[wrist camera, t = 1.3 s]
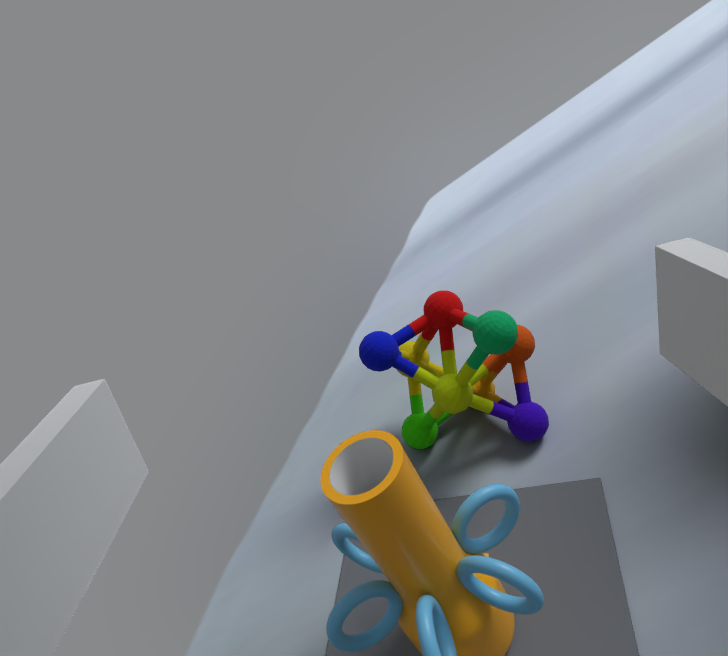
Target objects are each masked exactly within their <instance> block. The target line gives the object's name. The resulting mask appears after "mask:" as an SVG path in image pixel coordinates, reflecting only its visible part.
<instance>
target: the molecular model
mask: <svg viewBox="0 0 728 656" xmlns="http://www.w3.org/2000/svg"><path fill="white" fill-rule="evenodd" d="M457 324H458V325H460V326H462V327H464V328H467V329H469V330H471V331H473V338H474V341H475V343H476V345H477V347H476V348H475V350H474V351H473V352H472V354H471V355H470V357H469V358H468V360H467V361H466V363H465V364H464V365H463V367H462V368H461V370H460V371H459V373H458V374H457V368H456V360H455V351H454V342H453V333H452V328H453V327H454V326H456V325H457ZM438 329H439V335H440V345H441V354H442V364H443V368H442V367H440V366H438V365H436V364H434V363H432V362H429V358H430V357H429V354H428V351H427V350H426V348H427V346H428V344H429V343H430V341H431V340H432V339H433V337H434V335H435V334H436V332H437V331H438ZM419 333H421V334H420V336H419V337H418V339H417V341H416V342H406V341H408V340H410V339H411V338H413V337H414V336H416V335H417V334H419ZM405 342H406V343H405ZM403 343H404V344H403ZM400 345H401V346H400ZM534 348H535V341H534V337H533V335H532V333H531V332H530V331H529V330H528V329H526V328H525V327H523V326H520V325H517V324H516V322H515V320H514V319H513V318H512V317H511V316H510V315H508V314H507V313H505V312H502V311H488V312H486V313H485V314H483V315H481V316H480V317H476V316H473V315H471V314H468V313H466V312H464V311H463V305H462V302H461V300H460V298H459V297H458V296H457V295H455V294H454V293H452V292H450V291H438V292H435V293H433V294H432V295H430V296H429V298H428V299H427V300H426V303H425V305H424V315H423V316H421V317H420V318H418V319H417V320H415V321H413V322H412V323H410V324H409V325H407V326H406V327H404V328H402V329H401V330H399V331H398V332H396V333H395V334H393V335H390V334H388V333H386V332H383V331H375V332H372V333H370V334H368V335H367V336H365V337H364V339H363V340H362V342H361V344H360V346H359V356H360V359H361V361H362V363H363V364H364V365H365V366H366V367H367V368H369V369H371V370H373V371H384V370H387V369H389V368H391V367H394V368H396V369H397V371H398V372H399V373H401V374H402V375H404V376H406V377H408V385H409V393H410V402H411V410H412V415H410V416H409V417H407V418H406V419H405V421H404V423H403V426H402V436H403V438H404V440H405V442H406V443H407V444H408V445H409V446H411V447H413V448H415V449H425V448H427V447H429V446H432V445H433V443H434V442H435V440H436V439H437V436H438V425H439V424H441V423H442V422H443V421H445V420H446V419H448V418H449V417H450V416H452V415H453V414H457V413H459V412H462V411H464V410H466V409H467V407H468V406H469V407H471V408H474V409H477V410H479V411H482V412H485V413H487V414H490V415H493V416H496V417H498V418H501V419H504V420H506V421H507V423H508V427H509V430H510V431H511V433H512V434H513V435H514V436H515V437H516V438H518V439H520V440H522V441H529V442H532V441H535V440H538V439H540V438H542V437H543V435H544V434H545V433H546V431H547V429H548V426H549V422H548V416H547V414H546V412H545V410H544V409H543V408H542V407H541V406H540V405H538V404H536V403H533V402H531V397H530V392H529V386H528V380H527V374H526V369H525V363H524V361H526V360H527V359H528V358H530V357H531V355H532V353H533V351H534ZM489 354H491V355H490V356H488V355H489ZM487 356H488V357H487ZM507 363H511V366H512V372H513V378H514V383H515V389H516V395H517V401H518V404H517V405H515V406H514V405H512V404H510V403H509V402H507V401H505V400H504V399H502V398H500V397H499V396H497V395H495V386H494V384H493V382H492V381H493V380H494V378H495V377H496V376H497V375H498V374H499V372H501V370H502V369H503V368H504V367H505V365H506V364H507ZM420 383H422V384H424V385H425V386H427V387H429V388H431V389H432V396H433V401H434V402H435V404H434V405H433V406H432V408H431V409H430V410H429V411H428V412H427V414H426V413H424V409H423V401H422V393H421V384H420Z"/></svg>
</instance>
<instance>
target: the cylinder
mask: <svg viewBox="0 0 728 656" xmlns="http://www.w3.org/2000/svg"><path fill="white" fill-rule="evenodd" d="M321 487H322V490H323V492H324V493H325V495H326V496H327V498H328V499H329V500H330V502H331V503H332V504H333V506H334V507H335V508H336V510H337V511H338V512H339V514H340V515H341V516H342V518H343V519H344V520H345V522H346V523H341V524H338V525H336V526H335V527H334V528H333V530H332V540H333V542H334V544H335V545H336V547H337V548H338V549H339V550H340V551H341V552H342V553H343V554H344V555H345V556H347V557H348V558H349V559H351V560H352V561H354V562H355V563H357V564H359V565H360V566H362V567H364V568H367V569H369V570H371V571H374V572H378V573H382V574H384V575H385V576H386V577H387V579H388V580H389V582H388V581H384V580H374V581H369V582H366V583H363V584H360V585H358V586H356V587H355V588H353V589H352V590H350V591H349V592H347V593H346V594H345V595H344V596H343V597H342V598H341V599H340V600H339V601H338V602H337V603H336V605H335V606H334V608H333V609H332V611H331V613H330V615H329V618H328V622H327V636H328V639H329V641H330V642H331V644H332V645H333V646H334V647H335V648H337V649H339V650H341V651H344V652H357V651H362V650H365V649H367V648H370V647H372V646H374V645H375V644H377V643H378V642H380V641H381V640H383V639H384V638H385V637H386V636H387V635H388V634H389V633H390V632H391V631H392V630H393V628H394V627H395V626H396V624H397V623H398V624H399V625H400V627H401V629H402V630H403V632H404V633H405V634H406V635H407V637H408V638H409V639H410V641H411V642H412V643H413V644H414V646H415V647H416V648H417V649H418V651H419V652H420V653H421V655H422V656H505V654H506V653H507V651H508V650H509V647H510V645H511V642H512V639H513V635H514V628H515V617H514V613H515V614H522V615H529V614H534V613H536V612H538V611H539V610H540V609H541V608H542V607H543V604H544V597H543V593H542V591H541V589H540V588H539V586H538V585H537V584H536V583H535V582H534V581H533V580H532V579H531V578H530V577H529V576H527V575H526V574H525V573H523V572H522V571H520V570H519V569H517V568H515V567H513V566H511V565H509V564H507V563H505V562H502V561H500V560H497V559H494V558H490V557H485V556H484V555H483V552H486V551H488V550H490V549H492V548H494V547H495V546H497V545H498V544H500V543H501V542H502V541H503V540H504V539H505V538H506V537H507V536H508V535H509V533H510V532H511V531H512V529H513V528H514V526H515V524H516V522H517V519H518V516H519V512H520V502H519V498H518V496H517V494H516V492H515V491H514V490H513V489H512V488H510V487H509V486H506V485H503V484H491V485H487V486H485V487H482V488H480V489H479V490H477V491H475V492H474V493H473V494H471V495H470V496H469V497H468V498H467V499H466V500H465V501H464V502H463V503H462V505H461V506H460V508H459V509H458V511H457V513H456V515H455V517H454V520H453V524H452V531H451V530H450V528H449V526H448V525H447V523H446V521H445V520H444V518H443V516H442V514H441V513H440V511H439V509H438V508H437V506H436V504H435V502H434V501H433V499H432V497H431V496H430V494H429V492H428V490H427V489H426V487H425V485H424V483H423V482H422V480H421V478H420V476H419V475H418V473H417V471H416V470H415V468H414V466H413V464H412V463H411V461H410V459H409V457H408V456H407V454H406V452H405V450H404V449H403V447H402V445H401V444H400V442H399V440H398V439H397V438H396V437H395V436H394V435H392V434H390V433H388V432H385V431H379V430H372V431H366V432H362V433H359V434H356V435H354V436H352V437H350V438H348V439H347V440H345V441H344V442H342V443H341V444H340V445H339V446H338V447H337V448H336V449H335V450H334V451H333V452H332V453H331V454H330V456H329V457H328V459H327V460H326V462H325V464H324V466H323V469H322V473H321ZM495 499H502V500H504V502H505V511H504V514H503V517H502V518H501V520H500V522H499V523H498V524H497V526H496V527H495V528H494V529H493V530H491V531H490V532H489V533H487V534H486V535H484V536H482V537H479V538H474V539H472V538H469V537H468V536H467V526H468V523H469V521H470V519H471V518H472V516H473V515H474V513H475V512H476V511H477V510H478V509H479V508H480V507H481V506H483V505H484V504H486V503H487V502H489V501H492V500H495ZM347 538H351V539H354V540H357V541H359V542H361V543H362V545H363V546H364V547H365V549H366V550H367V552H368V553H369V554H370V555H369V554H367V553H365V552H364V551H362V550H360V549H359V548H357V547H356V546H355V545H353V544H352V543H351V542H350V541H349V540H348V539H347ZM499 579H500V580H502V581H504V582H506V583H508V584H510V585H512V586H513V587H515V588H516V589H518V590H519V591H520V592H521V593H522V594H523V595H524V596H525V597H516V596H512V595H508V594H507V593H506V591H505V590H504V588H503V586H502V584H501V582H500V580H499ZM374 597H384V598H386V599H387V600H388V602H389V605H388V609H387V611H386V613H385V615H384V616H383V617H382V619H381V620H380V621H379V622H378V623H377V624H376V625H375V626H373V627H372V628H370V629H369V630H367V631H365V632H363V633H360V634H356V635H347V634H345V633H343V631H342V626H343V623H344V620H345V619H346V617H347V616H348V614H349V613H350V612H351V611H352V610H353V609H354V608H355V607H356V606H358V605H359V604H361V603H362V602H364V601H366V600H368V599H371V598H374Z"/></svg>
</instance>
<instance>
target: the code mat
mask: <svg viewBox="0 0 728 656" xmlns="http://www.w3.org/2000/svg"><path fill="white" fill-rule="evenodd" d="M513 490H514V491H515V492H516V494H517V496H518V498H519V502H520V512H519V516H518V519H517V522H516V524H515V526H514V528H513V529H512V531H511V532H510V533H509V535H508V536H507V537H506V538H505V539H504V540H503V541H502V542H501V543H500V544H498V545H497V546H495V547H494V548H492V549H490V550H488V551H486V552H483V555H484V556H485V557H490V558H494V559H497V560H500V561H502V562H505V563H507V564H509V565H511V566H513V567H515V568H517V569H519V570H520V571H522V572H523V573H525V574H526V575H527V576H529V577H530V578H531V579H532V580H533V581H534V582H535V583H536V584H537V585H538V586H539V588H540V589H541V591H542V593H543V597H544V604H543V607H542V608H541V609H540V610H539V611H538V612H536V613H534V614H529V615H522V614H515V613H514V617H515V628H514V635H513V639H512V642H511V645H510V647H509V650H508V651H507V653H506V654H505V656H639V654H638V649H637V645H636V640H635V636H634V631H633V626H632V622H631V617H630V613H629V608H628V604H627V599H626V594H625V590H624V585H623V581H622V576H621V571H620V567H619V562H618V558H617V553H616V549H615V544H614V539H613V535H612V530H611V526H610V521H609V516H608V512H607V507H606V503H605V498H604V494H603V489H602V484H601V480H600V478H595V479H587V480H580V481H572V482H565V483H557V484H549V485H542V486H534V487H527V488H519V489H513ZM469 496H470V495H467V496H459V497H452V498H444V499H437V500H433V501H434V502H435V504H436V506H437V508H438V509H439V511H440V513H441V514H442V516H443V518H444V520H445V521H446V523H447V525H448V526H449V528H450V530H451V531H452V524H453V520H454V517H455V515H456V513H457V511H458V509H459V508H460V506H461V505H462V503H463V502H464V501H465V500H466V499H467V498H468V497H469ZM504 511H505V502H504V500H502V499H495V500H492V501H489V502H487V503H486V504H484V505H483V506H481V507H480V508H479V509H478V510H477V511H476V512H475V513H474V515H473V516H472V518H471V519H470V521H469V523H468V526H467V536H468V537H469V538H472V539H474V538H479V537H482V536H484V535H486V534H487V533H489V532H490V531H491V530H493V529H494V528H495V527H496V526H497V524H498V523H499V522H500V520H501V518H502V517H503V514H504ZM347 539H348V540H349V541H350V542H351V543H352V544H353V545H355V546H356V547H357V548H359V549H360V550H362V551H364V552H365V553H367V554H369V553H368V552H367V550H366V549H365V547H364V546H363V545H362V543H361V542H359V541H357V540H354V539H351V538H347ZM369 555H370V554H369ZM374 580H384V581H388V582H389V580H388V579H387V577H386V576H385V575H384V574H382V573H378V572H374V571H371V570H369V569H367V568H364V567H362V566H360V565H359V564H357V563H355V562H354V561H352V560H351V559H349V558H348V557H347V556H345V555H344V559H343V565H342V570H341V576H340V581H339V586H338V592H337V597H336V603H337V602H338V601H339V600H340V599H341V598H342V597H343V596H344V595H345V594H346V593H347V592H349V591H350V590H352V589H353V588H355V587H356V586H358V585H360V584H363V583H366V582H369V581H374ZM499 580H500V579H499ZM500 582H501V584H502V586H503V588H504V590H505V591H506V593H507V594H508V595H512V596H516V597H525V596H524V595H523V594H522V593H521V592H520V591H519V590H518V589H516V588H515V587H513V586H512V585H510V584H508V583H506V582H504V581H502V580H500ZM336 603H335V605H336ZM388 605H389V602H388V600H387V599H386V598H384V597H374V598H371V599H368V600H366V601H364V602H362V603H361V604H359V605H358V606H356V607H355V608H354V609H353V610H352V611H351V612H350V613H349V614H348V616H347V617H346V619H345V620H344V623H343V626H342V631H343V633H345V634H347V635H356V634H360V633H363V632H365V631H367V630H369V629H370V628H372V627H373V626H375V625H376V624H377V623H378V622H379V621H380V620H381V619H382V617H383V616H384V615H385V613H386V611H387V609H388ZM326 656H422V655H421V653H420V652H419V651H418V649H417V648H416V647H415V646H414V644H413V643H412V642H411V641H410V639H409V638H408V637H407V635H406V634H405V633H404V632H403V630H402V629H401V627H400V625H399V624H398V623H397V624H396V626H395V627H394V628H393V630H392V631H391V632H390V633H389V634H388V635H387V636H386V637H385V638H384V639H383V640H381V641H380V642H378V643H377V644H375V645H374V646H372V647H370V648H367V649H365V650H362V651H357V652H344V651H341V650H339V649H337V648H335V647H334V646H333V645H332V644H331V642H330V641H328V646H327V651H326Z"/></svg>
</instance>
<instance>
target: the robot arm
mask: <svg viewBox="0 0 728 656" xmlns="http://www.w3.org/2000/svg"><path fill="white" fill-rule="evenodd" d="M655 258H656V279H657V300H658V322H659V343H660V354H661V355H663V356H664V357H665V358H666V359H668V360H669V361H670V362H671V363H673V364H674V365H675V366H677V367H678V368H679V369H680V370H682V371H683V372H684V373H685V374H687V375H688V376H689V377H690V378H692V379H693V380H694V381H696V382H697V383H698V384H699V385H701V386H702V387H703V388H704V389H706V390H707V391H708V392H710V393H711V394H712V395H713V396H715V397H716V398H717V399H718V400H720V401H721V402H722V403H723V404H725V405H726V406H727V407H728V252H725V251H722V250H720V249H717V248H715V247H712V246H710V245H707V244H704V243H702V242H699V241H697V240H694V239H692V238H685V239H681V240H676V241H672V242H668V243H664V244H660V245H656V246H655ZM148 472H149V471H148V469H147V467H146V465H145V463H144V461H143V458H142V456H141V454H140V452H139V450H138V448H137V446H136V444H135V442H134V439H133V437H132V435H131V433H130V431H129V429H128V427H127V425H126V423H125V420H124V418H123V416H122V414H121V412H120V410H119V408H118V406H117V403H116V401H115V399H114V397H113V395H112V393H111V391H110V389H109V387H108V384H107V382H106V380H105V379H102V380H97V381H93V382H89V383H85V384H81V385H77V386H74V387H73V388H72V389H71V390H70V391H69V392H68V393H67V395H66V396H65V397H64V398H63V399H62V400H61V401H60V402H59V403H58V404H57V405H56V406H55V407H54V408H53V409H52V411H50V413H49V414H48V415H47V416H46V417H45V418H44V419H43V420H42V421H41V422H40V423H39V424H38V425H37V426H36V427H35V429H34V430H33V431H32V432H31V433H30V434H29V435H28V436H27V437H26V438H25V439H24V440H23V441H22V442H21V443H20V445H18V447H17V448H16V449H15V450H14V451H13V452H12V453H11V454H10V455H9V456H8V457H7V458H6V459H5V460H4V461H3V462H2V463H1V465H0V656H52V655H53V653H54V652H55V650H56V648H57V646H58V644H59V642H60V640H61V638H62V636H63V634H64V632H65V631H66V629H67V626H68V625H69V623H70V621H71V619H72V617H73V615H74V613H75V611H76V609H77V607H78V606H79V604H80V602H81V600H82V598H83V596H84V594H85V592H86V590H87V588H88V587H89V585H90V583H91V581H92V579H93V577H94V575H95V573H96V571H97V569H98V567H99V566H100V564H101V562H102V560H103V558H104V556H105V554H106V552H107V550H108V548H109V546H110V544H111V543H112V541H113V539H114V537H115V535H116V533H117V531H118V529H119V527H120V525H121V523H122V521H123V520H124V518H125V516H126V514H127V512H128V510H129V508H130V506H131V504H132V502H133V501H134V498H135V497H136V495H137V493H138V491H139V489H140V487H141V485H142V483H143V481H144V479H145V478H146V476H147V474H148Z"/></svg>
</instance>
